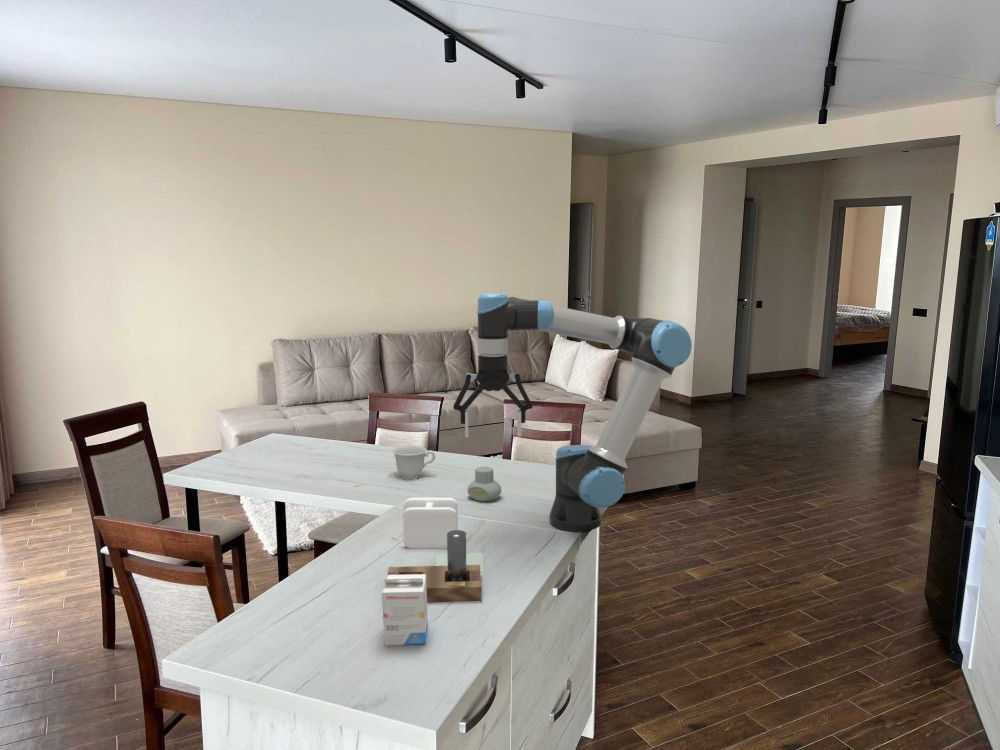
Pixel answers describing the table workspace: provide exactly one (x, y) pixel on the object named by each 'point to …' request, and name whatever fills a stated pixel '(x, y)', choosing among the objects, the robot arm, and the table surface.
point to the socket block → (445, 583)
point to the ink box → (405, 609)
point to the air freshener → (484, 485)
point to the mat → (470, 560)
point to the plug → (456, 555)
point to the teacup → (411, 460)
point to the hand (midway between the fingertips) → (493, 435)
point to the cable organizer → (429, 521)
